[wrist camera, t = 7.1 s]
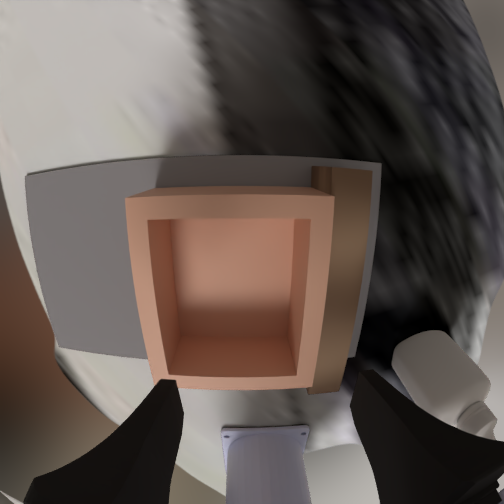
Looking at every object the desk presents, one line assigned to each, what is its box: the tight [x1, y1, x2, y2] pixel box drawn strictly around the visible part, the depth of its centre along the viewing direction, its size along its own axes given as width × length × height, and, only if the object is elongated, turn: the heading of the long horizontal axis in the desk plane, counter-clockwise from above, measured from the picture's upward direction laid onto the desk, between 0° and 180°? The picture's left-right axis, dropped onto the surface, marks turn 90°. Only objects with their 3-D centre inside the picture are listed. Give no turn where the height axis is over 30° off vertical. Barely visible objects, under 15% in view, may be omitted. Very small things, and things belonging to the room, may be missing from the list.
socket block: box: [125, 186, 335, 390], centre depth 15 cm, size 10×9×4 cm
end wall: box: [306, 166, 373, 394], centre depth 16 cm, size 13×2×4 cm, turn 0°
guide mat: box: [25, 155, 382, 359], centre depth 18 cm, size 14×24×1 cm, turn 90°
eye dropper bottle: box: [392, 330, 497, 440], centre depth 15 cm, size 4×6×12 cm
